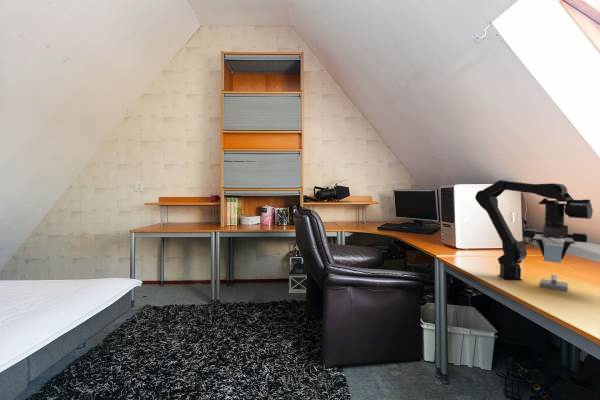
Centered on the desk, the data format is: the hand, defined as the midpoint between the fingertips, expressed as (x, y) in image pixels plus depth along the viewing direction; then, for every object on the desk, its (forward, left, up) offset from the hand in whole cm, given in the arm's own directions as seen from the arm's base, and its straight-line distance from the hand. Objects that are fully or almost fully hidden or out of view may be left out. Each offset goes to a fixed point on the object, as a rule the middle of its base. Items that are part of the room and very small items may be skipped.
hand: (553, 258), depth 120 cm
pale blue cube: (0, 0, -1) cm, 1 cm away
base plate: (+1, 0, -11) cm, 11 cm away
